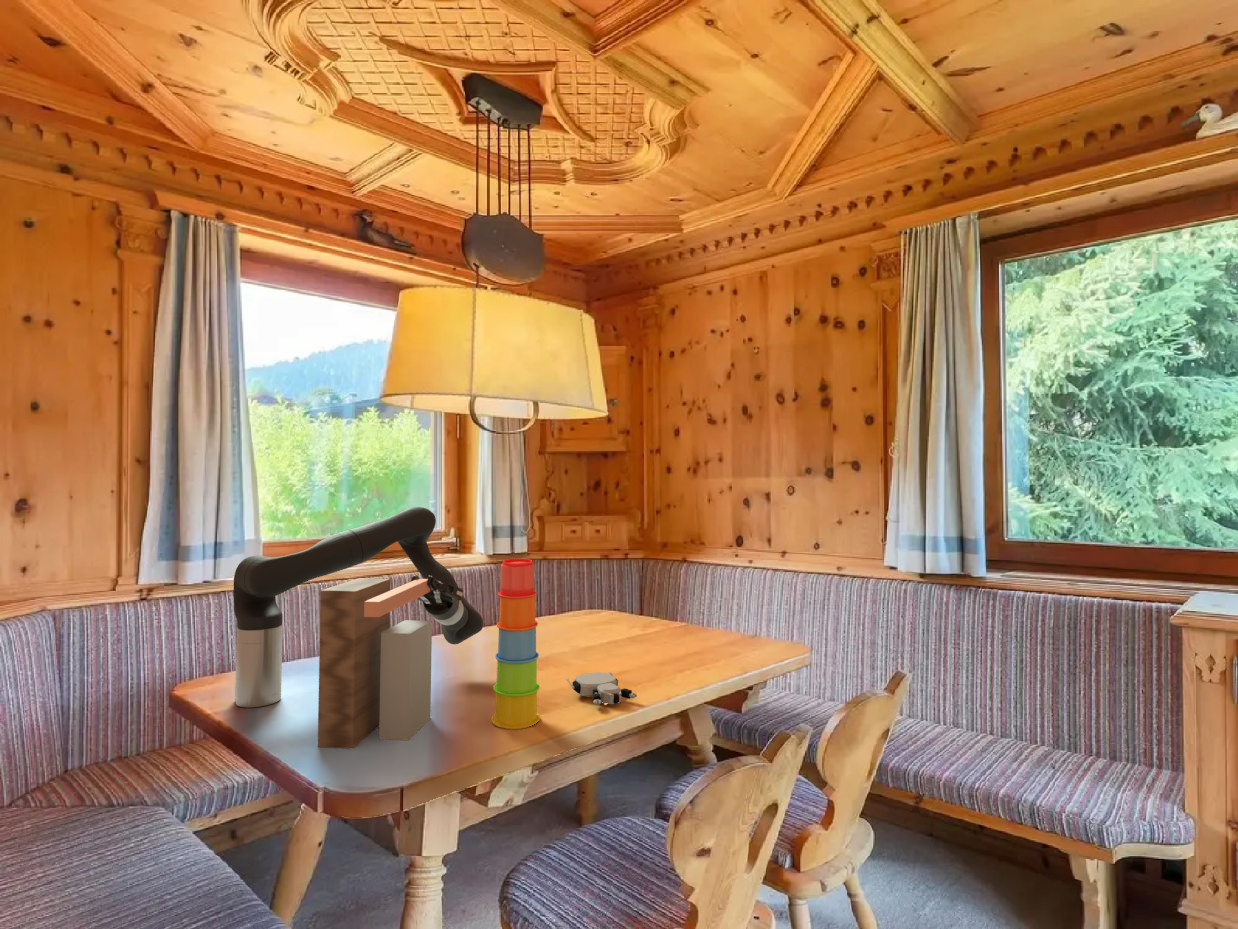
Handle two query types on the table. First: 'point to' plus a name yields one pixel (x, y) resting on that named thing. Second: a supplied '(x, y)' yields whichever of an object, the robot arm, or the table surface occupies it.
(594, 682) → the robot toy
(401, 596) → the terracotta bar
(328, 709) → the walnut post
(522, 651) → the stacking cups
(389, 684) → the taupe pedestal
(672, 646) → the table surface
